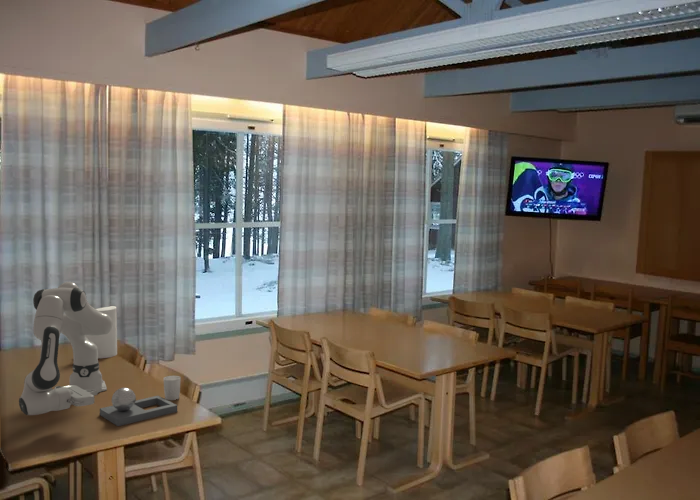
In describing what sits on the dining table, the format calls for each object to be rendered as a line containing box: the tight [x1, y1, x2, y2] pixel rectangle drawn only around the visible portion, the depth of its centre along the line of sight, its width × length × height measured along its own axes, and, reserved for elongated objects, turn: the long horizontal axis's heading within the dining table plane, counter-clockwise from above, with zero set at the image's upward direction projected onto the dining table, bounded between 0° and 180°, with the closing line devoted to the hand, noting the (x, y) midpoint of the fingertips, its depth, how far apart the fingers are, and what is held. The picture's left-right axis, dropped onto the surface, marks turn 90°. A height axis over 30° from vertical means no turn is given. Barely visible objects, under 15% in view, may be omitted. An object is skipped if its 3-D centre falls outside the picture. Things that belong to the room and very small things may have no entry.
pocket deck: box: [99, 395, 178, 427], centre depth 300 cm, size 28×18×3 cm, turn 134°
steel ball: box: [111, 387, 137, 411], centre depth 295 cm, size 10×10×10 cm
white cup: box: [163, 375, 181, 401], centre depth 321 cm, size 8×8×10 cm
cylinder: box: [86, 305, 118, 359], centre depth 396 cm, size 17×17×28 cm
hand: (96, 392), depth 285 cm, fingers closed
